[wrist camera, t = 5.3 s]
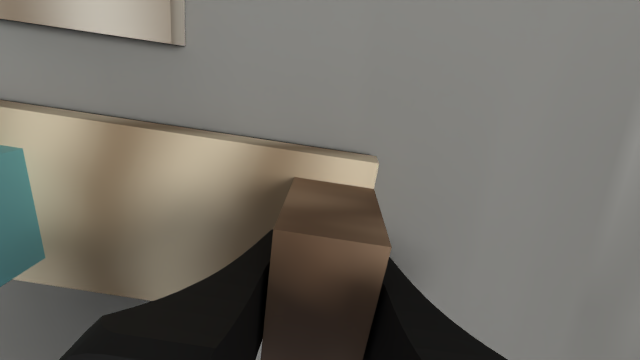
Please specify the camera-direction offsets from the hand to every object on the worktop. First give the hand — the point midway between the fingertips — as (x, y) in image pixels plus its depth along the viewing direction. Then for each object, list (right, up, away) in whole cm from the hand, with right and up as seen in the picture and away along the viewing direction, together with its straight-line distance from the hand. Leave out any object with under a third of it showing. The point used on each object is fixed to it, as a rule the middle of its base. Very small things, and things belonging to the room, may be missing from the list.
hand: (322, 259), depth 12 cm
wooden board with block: (-8, +2, +2) cm, 9 cm away
